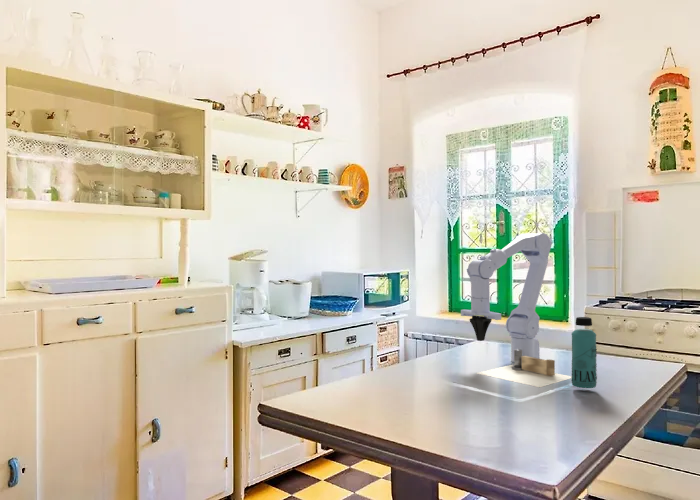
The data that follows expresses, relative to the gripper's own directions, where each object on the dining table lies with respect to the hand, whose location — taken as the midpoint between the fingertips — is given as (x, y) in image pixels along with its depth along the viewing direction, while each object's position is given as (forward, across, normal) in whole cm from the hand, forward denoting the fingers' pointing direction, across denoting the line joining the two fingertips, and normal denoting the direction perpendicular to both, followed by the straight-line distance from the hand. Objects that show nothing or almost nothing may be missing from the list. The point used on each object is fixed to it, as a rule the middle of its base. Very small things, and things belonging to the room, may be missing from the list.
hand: (480, 340), depth 175 cm
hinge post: (+9, +9, +7) cm, 15 cm away
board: (+9, +15, +2) cm, 18 cm away
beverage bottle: (+10, +34, +1) cm, 35 cm away
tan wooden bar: (+8, +16, +6) cm, 19 cm away
